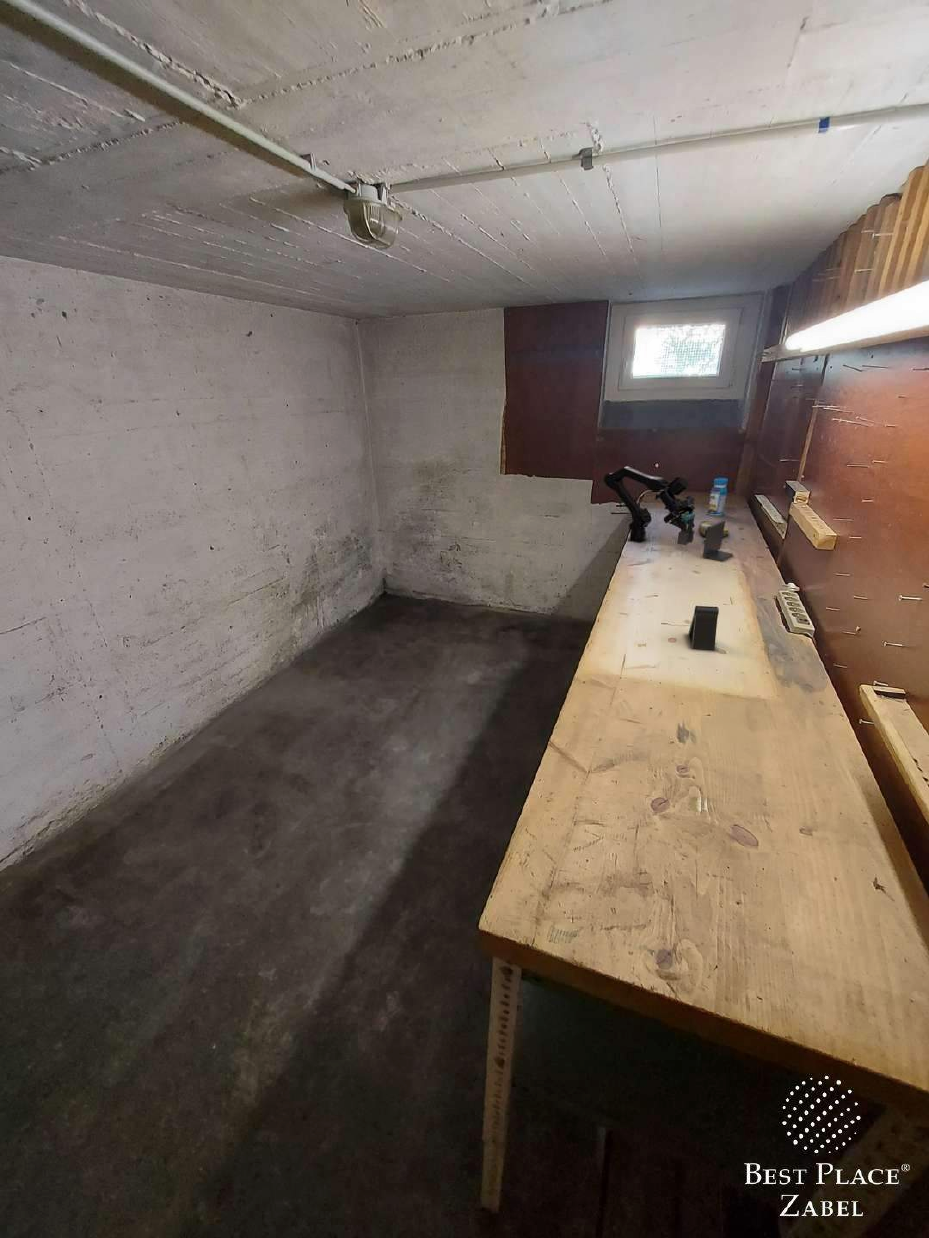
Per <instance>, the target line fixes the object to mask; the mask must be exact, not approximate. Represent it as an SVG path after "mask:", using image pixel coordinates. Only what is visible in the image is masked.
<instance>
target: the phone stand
mask: <svg viewBox="0 0 929 1238" xmlns="http://www.w3.org/2000/svg"><path fill="white" fill-rule="evenodd" d="M719 611H720V608H719V606H709V605H695V607H694V610H693V616H692V619H691V622H690V626H689V629H688V633H687V636H688V639H689V643H690V645H691V648H692V649H695V650H709V651H715V649H716V637H717V628H718V627H717V626H718V618H719V614H720V612H719Z"/></svg>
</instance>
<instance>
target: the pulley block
mask: <svg viewBox="0 0 929 1238" xmlns="http://www.w3.org/2000/svg"><path fill="white" fill-rule="evenodd" d="M715 523H716V522H714V521H706V520H705V521H704V520H703V521H701V522H700V524H698V526H699V527H698V528H697V531H698V532H699V533H701V535H702V536H703V542H704V543H705V539H706V533H707V528H703V527H702V525H703V524H707V525H713V524H715ZM729 530H730V529H729V527H727V526H726V525H725V526H724V531H723V537H722V538H724V537H727V536H728V535H729Z"/></svg>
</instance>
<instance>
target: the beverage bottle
mask: <svg viewBox="0 0 929 1238" xmlns="http://www.w3.org/2000/svg"><path fill="white" fill-rule="evenodd" d="M728 481H729V480H728V478H726V477H725V478H724V477H717V478H714V481H713V485H714V486H713V487H712V488H711V490H710V495H709V503H708V508H707V514H708V515H709V516H715V517H719V516H723V515H724V509H725V504H726V499H727V496H728V495H727V493H728V489H727V486H728Z"/></svg>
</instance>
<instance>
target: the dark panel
mask: <svg viewBox="0 0 929 1238" xmlns="http://www.w3.org/2000/svg"><path fill="white" fill-rule="evenodd" d="M714 523H715V524H713V525H707V524H703V525H702V527H703V528H707V533H706V537H705V538H706V539H705V542H704V545H703V551H702V557H704V559H709V560H714V561H717V562H724V561H726V560H728V559H730V558H731V557H733V555H734V553H732V552H727V551H722V550H721V547H722V542H723V538H724V537H723V531H724V526H726V520H720V521H717V522H714Z"/></svg>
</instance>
